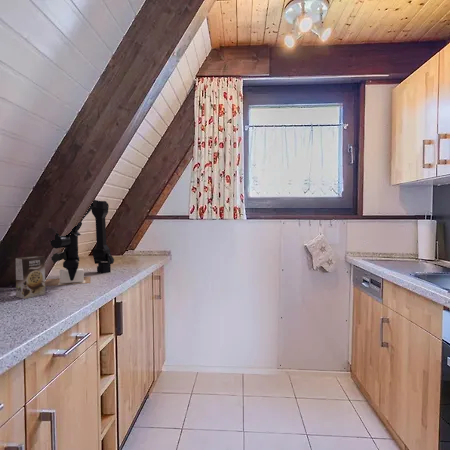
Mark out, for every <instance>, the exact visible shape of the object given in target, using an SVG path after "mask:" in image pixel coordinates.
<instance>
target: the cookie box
mask: <svg viewBox="0 0 450 450" xmlns="http://www.w3.org/2000/svg"><path fill="white" fill-rule="evenodd" d="M45 257H46V256H42V255H33V256H22V257H16V258H15V297H16V298H20V299H22V300H23V299H24V300H25V299H30V298H35V297H41V296H44V295H46V286H45V281H46V264H45V263H46V261H45V260H46V258H45Z"/></svg>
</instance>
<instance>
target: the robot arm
mask: <svg viewBox="0 0 450 450" xmlns="http://www.w3.org/2000/svg"><path fill="white" fill-rule="evenodd" d="M109 205H110V204H109V203H108V202H107V201H105V200H98V199H97V200H96V199H94V201H93V203H92V204H91V206H90V208H89V209H88V211H87V213H86V214H85V216H84V217H83V219H82V220H81V222H80V223H78V225H77V226H75V227H74V228H73V229H72V231H71V232H70V233H69V234H68V235H66V236H59V234H58V233H57V232H55V233H56V235H55V240H52V241H51V240H50V245H51V247H53V249H57V250H58V249H61V248H63V251H61V252H56V253H53V254H52V255H53V256H52V255H51V256H52V257H51V256H50V258H51V262H52V263H53V264H56V263H58V262H60V261H62V260H63V262H62V267H63V268H64V269H65V270H66V269H67V270H68V273H69V277H70V280H71V281H73V279H74V277H75V274H76V271H77V269H79V264H80V255H79V236H81V233H80V232H79V231H80V229H81V227H82V225H83V220H84V219H85V218H86V217H87V215H88V214H89V213H90V212H91V214H92V215H93V216H94V218H95V236H96V238H95V239H96V246H95V248H92V257H93V262H94V264H97V266H96V273H97V274H108V273H110V274H111V273H112V272H111V267H112V266H111V265H113V264H114V262H115V258H114V256H113V255H112V254H111V249H110V247H109V246H108V244H107V228H106V227H107V225H106V217H107V215H108V213H109ZM70 234H71V235H70Z"/></svg>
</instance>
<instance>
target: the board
mask: <svg viewBox="0 0 450 450" xmlns="http://www.w3.org/2000/svg"><path fill="white" fill-rule="evenodd" d="M91 282H92V281H91V276H84V282H77V283H60V277H59V278H47V279H46V278H45V287H52V286H53V287H55V286H68V285H82V284H83V285H84V284H91Z"/></svg>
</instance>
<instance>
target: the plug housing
mask: <svg viewBox="0 0 450 450" xmlns="http://www.w3.org/2000/svg"><path fill="white" fill-rule="evenodd" d="M84 273H85V272H84V268H78V269H77V271H76V274H75V277H74V279H73V281H71V280H70V277H69V273H68V270H67V269H66V268H65V269H60V270H59V278H60V283H73V282H84V277H85V275H84Z"/></svg>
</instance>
